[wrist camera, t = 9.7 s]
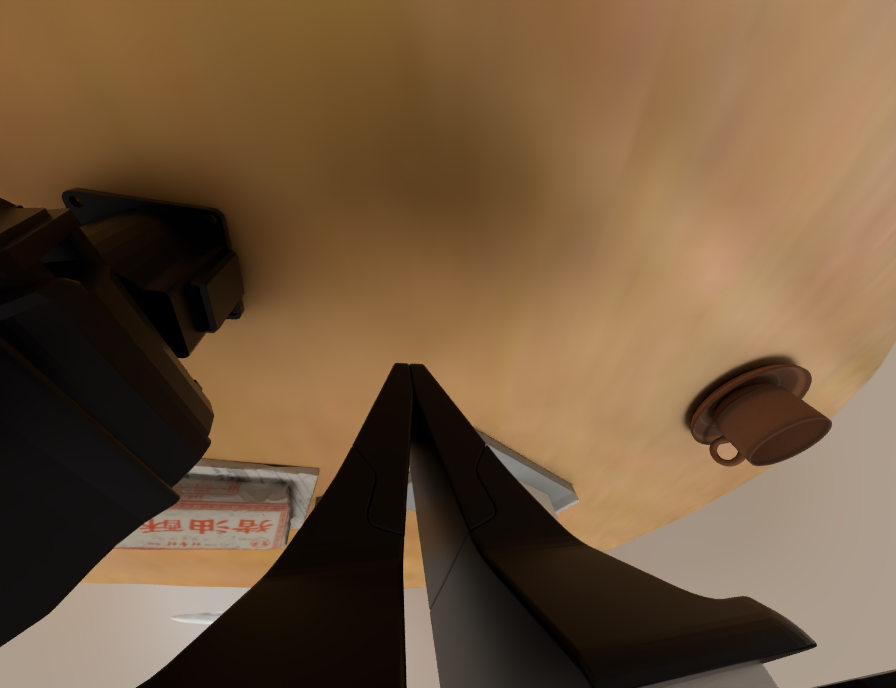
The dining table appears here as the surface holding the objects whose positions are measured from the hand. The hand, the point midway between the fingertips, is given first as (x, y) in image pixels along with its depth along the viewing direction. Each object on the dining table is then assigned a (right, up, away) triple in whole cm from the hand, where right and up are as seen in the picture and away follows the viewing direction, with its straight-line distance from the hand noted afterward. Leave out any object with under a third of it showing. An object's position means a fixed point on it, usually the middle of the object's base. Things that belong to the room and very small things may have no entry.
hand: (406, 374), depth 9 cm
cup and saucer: (+33, -5, +26) cm, 42 cm away
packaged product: (-21, -13, +21) cm, 33 cm away
